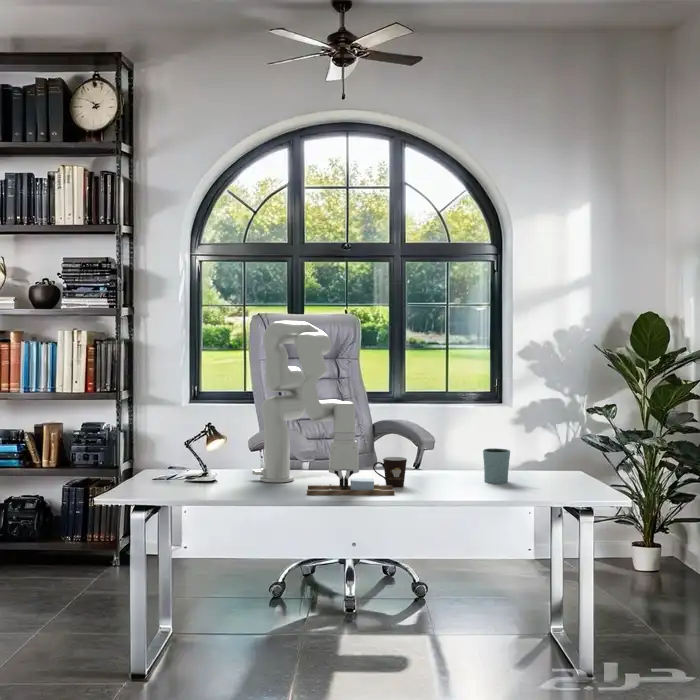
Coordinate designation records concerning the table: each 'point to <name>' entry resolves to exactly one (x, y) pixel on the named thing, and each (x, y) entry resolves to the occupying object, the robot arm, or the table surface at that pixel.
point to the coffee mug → (393, 470)
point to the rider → (362, 484)
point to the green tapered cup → (496, 465)
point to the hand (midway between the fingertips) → (343, 489)
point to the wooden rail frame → (348, 490)
